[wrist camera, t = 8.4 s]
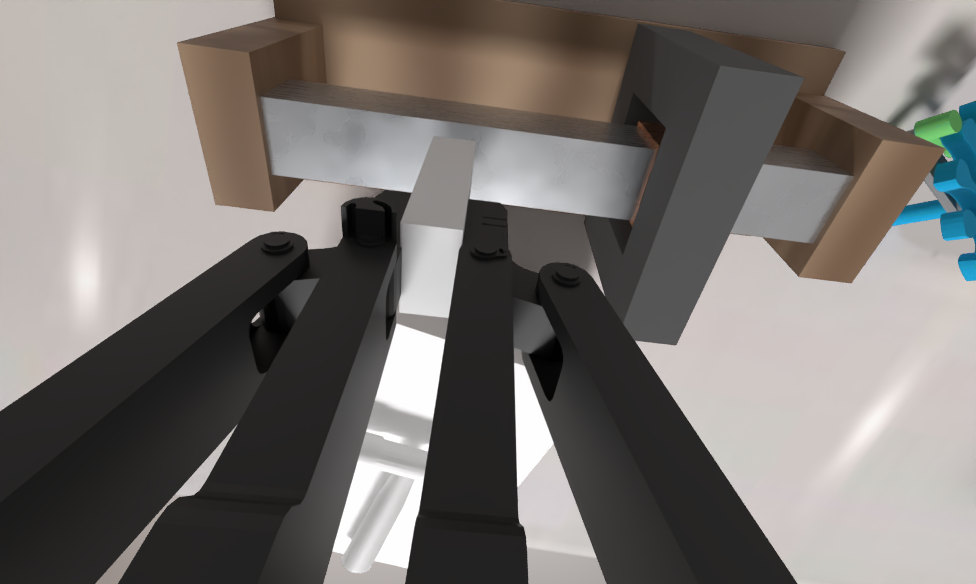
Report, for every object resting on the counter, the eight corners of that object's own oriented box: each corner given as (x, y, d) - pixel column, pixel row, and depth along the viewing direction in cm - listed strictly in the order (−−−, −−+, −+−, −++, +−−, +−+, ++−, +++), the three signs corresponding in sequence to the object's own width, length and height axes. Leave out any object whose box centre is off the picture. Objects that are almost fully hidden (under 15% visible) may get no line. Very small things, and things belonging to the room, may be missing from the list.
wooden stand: (298, 171, 28) (225, 246, 20) (273, -34, 22) (159, -29, 15) (747, 228, 29) (826, 318, 22) (837, 49, 23) (986, 90, 16)
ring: (584, 222, 27) (617, 338, 19) (637, 23, 21) (720, 65, 13) (625, 227, 27) (675, 345, 19) (690, 30, 21) (805, 78, 13)
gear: (1095, 189, 25) (1052, 339, 22) (952, 213, 30) (903, 336, 28) (1000, 29, 22) (938, 178, 19) (861, 88, 28) (797, 210, 25)
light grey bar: (274, 149, 21) (240, 177, 19) (262, 68, 19) (222, 87, 17) (799, 217, 23) (840, 253, 20) (838, 147, 21) (890, 177, 18)
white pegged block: (578, 297, 33) (604, 424, 24) (453, 482, 46) (440, 607, 38) (378, 222, 30) (323, 335, 21) (308, 443, 44) (257, 568, 35)
